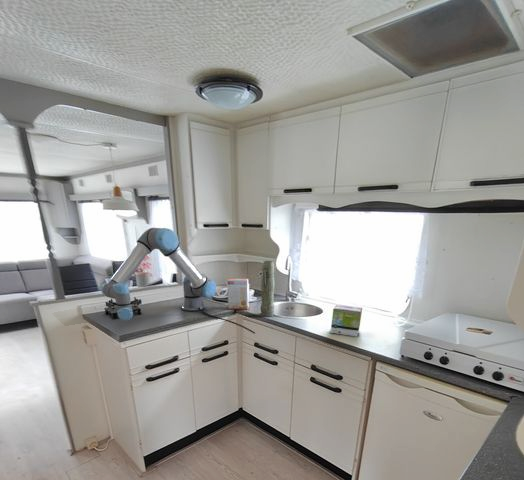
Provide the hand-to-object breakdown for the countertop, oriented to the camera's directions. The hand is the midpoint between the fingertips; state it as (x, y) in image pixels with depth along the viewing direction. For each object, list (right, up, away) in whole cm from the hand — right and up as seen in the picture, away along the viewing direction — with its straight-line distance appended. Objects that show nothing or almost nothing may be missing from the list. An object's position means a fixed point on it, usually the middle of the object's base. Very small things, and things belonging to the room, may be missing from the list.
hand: (123, 299), depth 205 cm
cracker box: (+71, -2, +27) cm, 76 cm away
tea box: (+135, -22, -19) cm, 138 cm away
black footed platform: (-5, -8, +10) cm, 14 cm away
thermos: (+91, -8, +13) cm, 92 cm away
